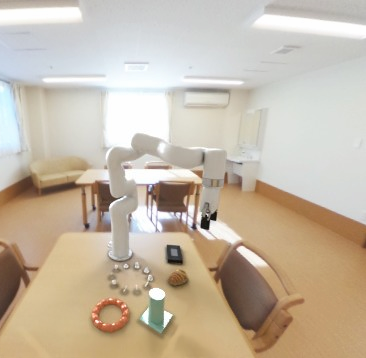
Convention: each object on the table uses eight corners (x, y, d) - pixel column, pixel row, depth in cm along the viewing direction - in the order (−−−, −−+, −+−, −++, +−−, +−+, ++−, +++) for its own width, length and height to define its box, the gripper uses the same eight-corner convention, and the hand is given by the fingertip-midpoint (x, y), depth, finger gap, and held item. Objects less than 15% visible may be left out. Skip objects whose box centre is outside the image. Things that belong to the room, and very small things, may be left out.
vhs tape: (167, 262, 109) (167, 259, 108) (166, 247, 122) (166, 244, 122) (182, 263, 108) (182, 260, 107) (179, 248, 121) (179, 245, 121)
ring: (84, 319, 76) (83, 314, 76) (109, 296, 87) (109, 291, 86) (112, 342, 68) (112, 336, 68) (136, 313, 79) (136, 308, 78)
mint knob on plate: (138, 321, 75) (139, 295, 73) (151, 305, 82) (152, 281, 80) (161, 336, 70) (162, 308, 67) (172, 317, 77) (174, 291, 74)
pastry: (176, 289, 90) (176, 282, 89) (164, 281, 95) (164, 274, 95) (189, 280, 96) (189, 273, 95) (177, 272, 101) (177, 265, 100)
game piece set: (115, 299, 85) (114, 291, 84) (106, 268, 104) (106, 261, 103) (159, 289, 90) (159, 282, 89) (143, 262, 109) (143, 255, 108)
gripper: (209, 176, 87) (205, 215, 91) (194, 185, 74) (191, 230, 78) (228, 179, 83) (224, 219, 87) (217, 188, 69) (212, 236, 73)
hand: (208, 224), depth 82 cm, fingers open, 9 cm apart
